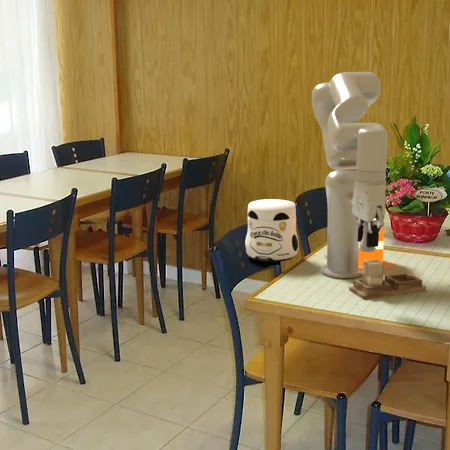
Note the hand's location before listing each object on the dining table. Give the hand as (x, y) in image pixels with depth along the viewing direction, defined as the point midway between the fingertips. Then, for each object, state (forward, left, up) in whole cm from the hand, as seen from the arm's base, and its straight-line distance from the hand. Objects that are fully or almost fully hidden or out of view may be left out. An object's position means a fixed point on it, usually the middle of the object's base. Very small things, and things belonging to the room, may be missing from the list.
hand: (367, 243), depth 190 cm
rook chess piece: (0, 0, -2) cm, 2 cm away
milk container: (-48, -7, -17) cm, 51 cm away
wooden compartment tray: (-7, +11, -17) cm, 21 cm away
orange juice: (-31, +19, -17) cm, 40 cm away
